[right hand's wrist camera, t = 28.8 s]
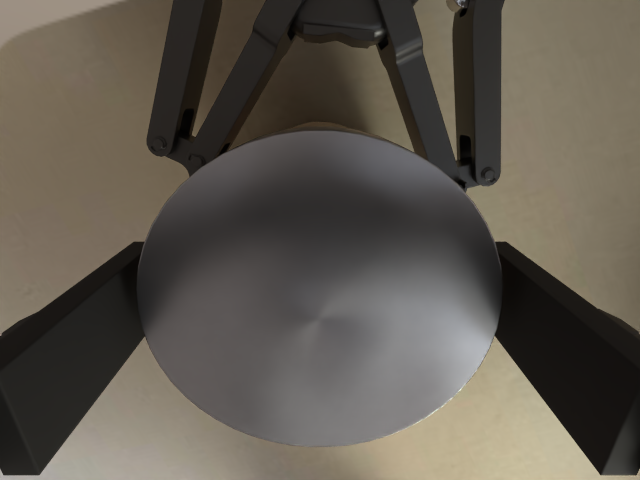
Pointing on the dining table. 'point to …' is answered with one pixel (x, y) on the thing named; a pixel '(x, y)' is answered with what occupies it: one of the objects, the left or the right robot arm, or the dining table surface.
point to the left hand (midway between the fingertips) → (313, 288)
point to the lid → (319, 287)
